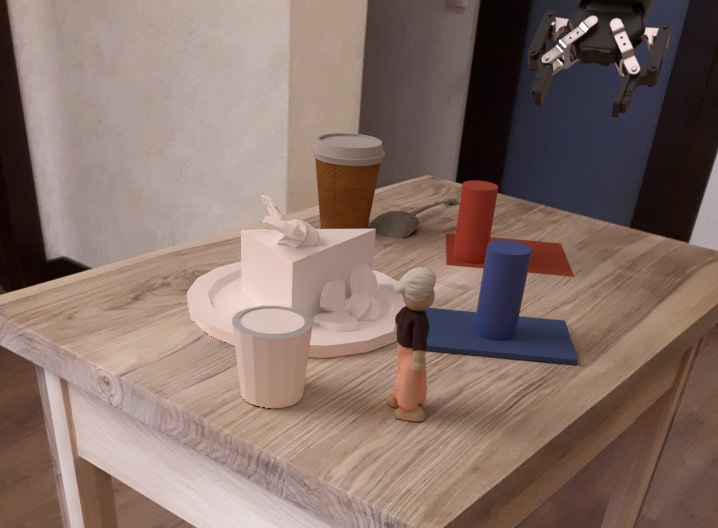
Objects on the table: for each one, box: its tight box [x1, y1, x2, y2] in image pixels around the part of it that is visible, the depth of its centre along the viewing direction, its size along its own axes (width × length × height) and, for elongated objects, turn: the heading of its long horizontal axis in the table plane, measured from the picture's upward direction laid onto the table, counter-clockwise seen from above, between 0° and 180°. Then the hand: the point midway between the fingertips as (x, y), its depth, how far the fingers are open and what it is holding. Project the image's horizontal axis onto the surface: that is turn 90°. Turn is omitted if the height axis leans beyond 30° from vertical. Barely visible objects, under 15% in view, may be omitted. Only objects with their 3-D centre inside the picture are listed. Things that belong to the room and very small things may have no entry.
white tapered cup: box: [232, 306, 313, 409], centre depth 69 cm, size 7×7×7 cm
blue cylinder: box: [474, 240, 532, 340], centre depth 81 cm, size 4×4×9 cm
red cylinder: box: [452, 180, 499, 263], centre depth 100 cm, size 4×4×9 cm
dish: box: [186, 194, 406, 359], centre depth 84 cm, size 25×25×11 cm
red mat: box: [445, 232, 575, 278], centre depth 105 cm, size 16×13×1 cm
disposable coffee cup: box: [311, 132, 386, 229], centre depth 106 cm, size 10×10×12 cm
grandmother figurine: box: [386, 266, 437, 423], centre depth 67 cm, size 8×4×13 cm, turn 21°
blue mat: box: [425, 307, 579, 366], centre depth 84 cm, size 16×10×1 cm, turn 84°
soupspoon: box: [369, 195, 460, 239], centre depth 115 cm, size 22×3×7 cm
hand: (576, 106), depth 86 cm, fingers open, 8 cm apart
